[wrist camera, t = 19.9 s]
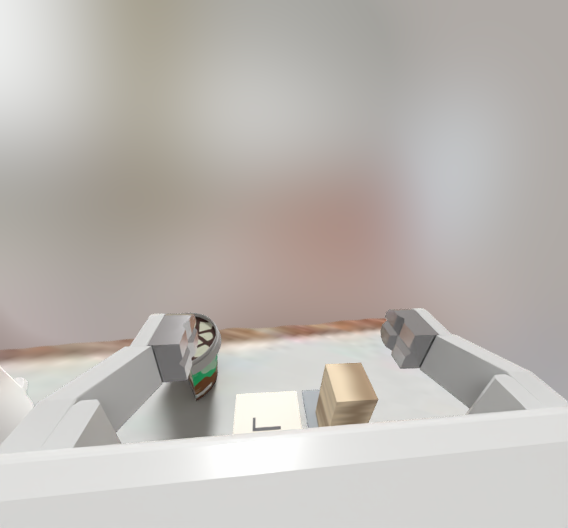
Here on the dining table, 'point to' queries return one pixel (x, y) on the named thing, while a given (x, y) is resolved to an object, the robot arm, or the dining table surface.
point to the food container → (204, 356)
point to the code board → (273, 411)
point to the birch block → (345, 396)
